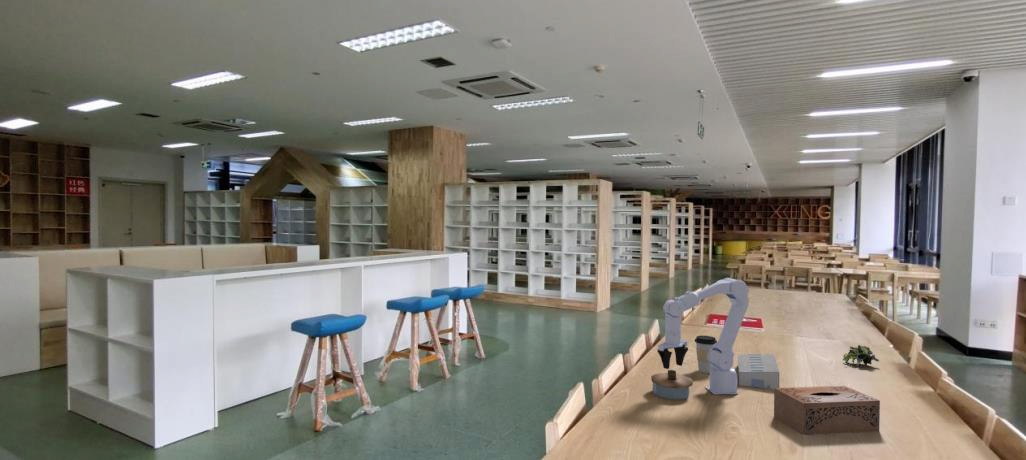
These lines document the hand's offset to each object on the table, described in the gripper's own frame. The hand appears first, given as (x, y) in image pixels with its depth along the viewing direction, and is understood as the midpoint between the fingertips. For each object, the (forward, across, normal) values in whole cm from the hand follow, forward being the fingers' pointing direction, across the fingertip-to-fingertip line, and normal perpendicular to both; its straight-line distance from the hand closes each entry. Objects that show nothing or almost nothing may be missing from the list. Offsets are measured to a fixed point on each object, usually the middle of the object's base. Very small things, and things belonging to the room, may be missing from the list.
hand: (672, 366), depth 193 cm
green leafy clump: (+11, +104, -22) cm, 107 cm away
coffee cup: (+10, +35, +10) cm, 38 cm away
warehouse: (+11, +46, -7) cm, 48 cm away
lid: (+5, -2, -1) cm, 6 cm away
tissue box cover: (+10, +17, -47) cm, 51 cm away
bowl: (+10, -2, -1) cm, 10 cm away
